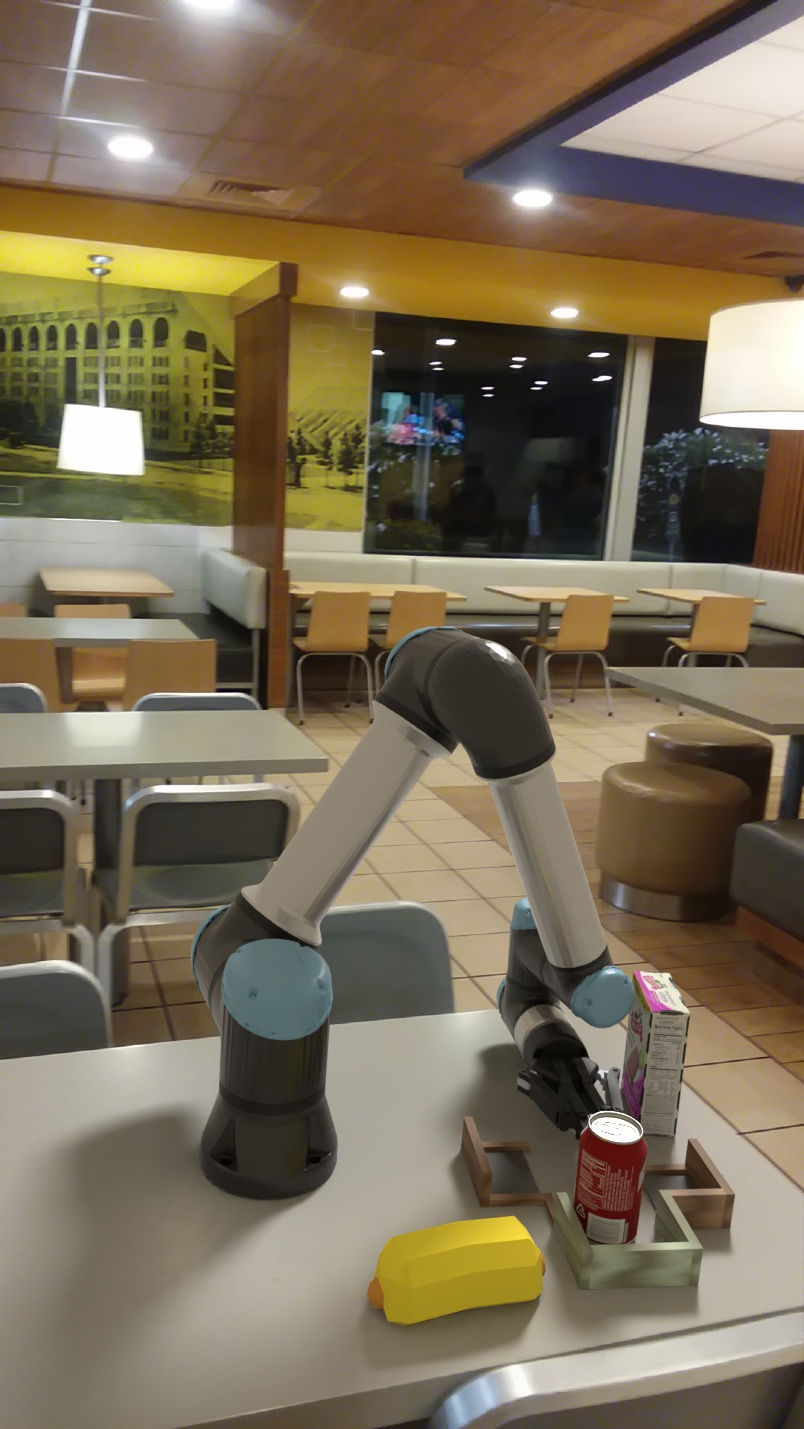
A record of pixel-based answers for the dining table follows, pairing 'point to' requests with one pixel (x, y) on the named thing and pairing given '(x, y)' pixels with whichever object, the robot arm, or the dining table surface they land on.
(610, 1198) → the soda can
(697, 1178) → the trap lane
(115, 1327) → the dining table surface
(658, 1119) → the candy bar box
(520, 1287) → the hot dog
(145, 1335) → the dining table surface
